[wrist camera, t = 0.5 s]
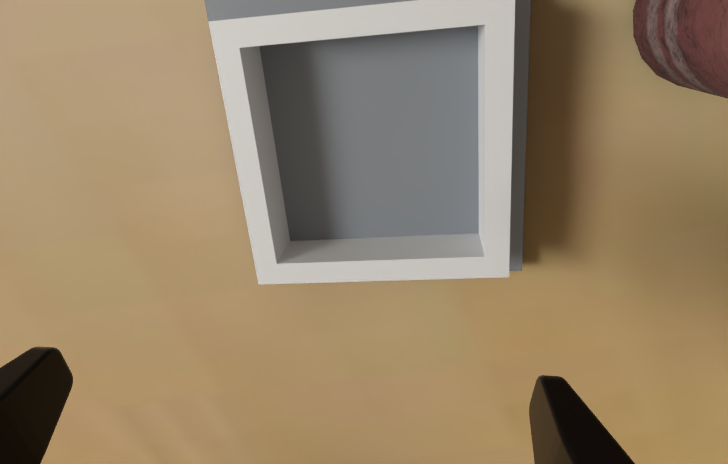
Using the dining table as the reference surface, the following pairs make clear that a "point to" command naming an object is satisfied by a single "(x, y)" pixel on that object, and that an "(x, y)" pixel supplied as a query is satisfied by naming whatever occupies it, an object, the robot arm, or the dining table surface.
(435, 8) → the tray
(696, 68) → the can
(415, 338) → the dining table surface
